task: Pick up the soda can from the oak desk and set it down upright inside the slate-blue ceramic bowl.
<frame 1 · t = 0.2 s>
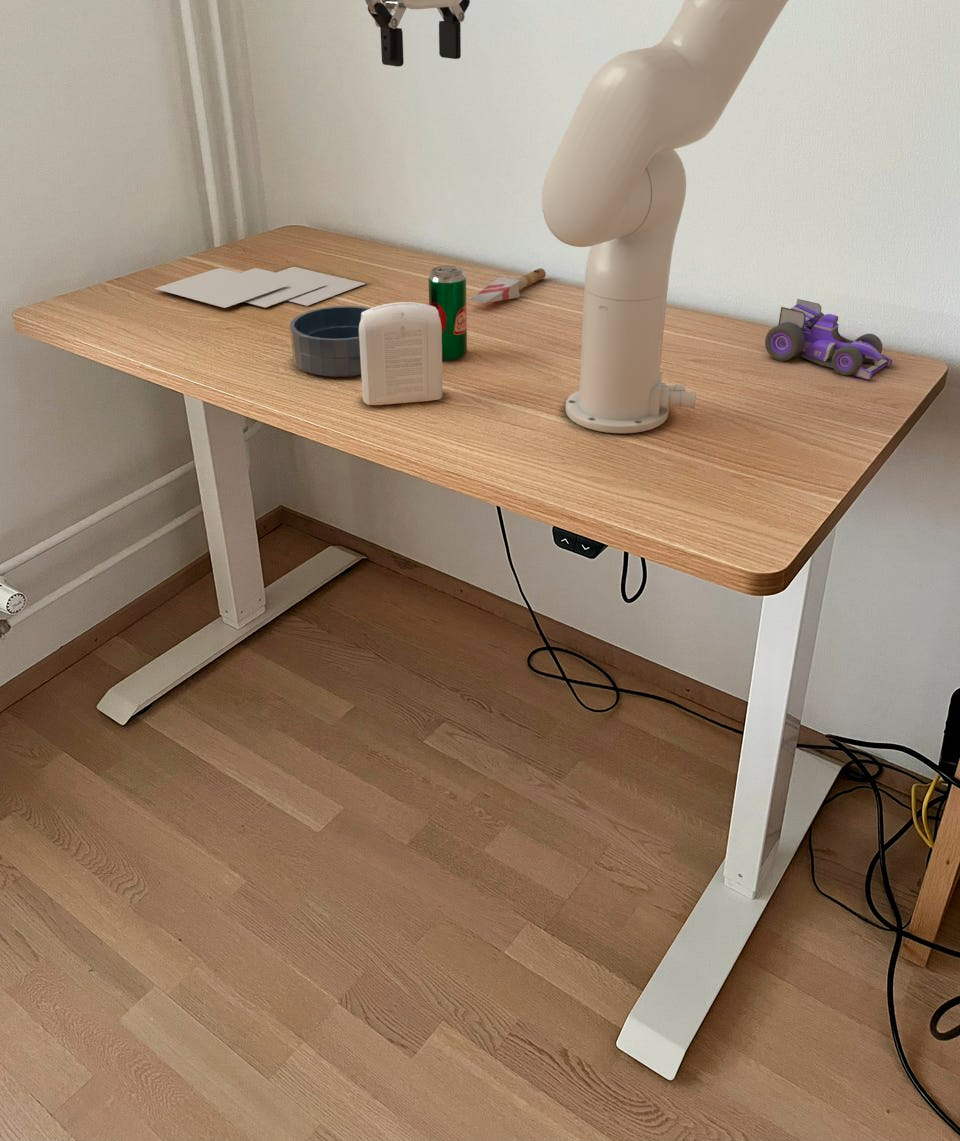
hand: (422, 61, 125), 37 cm above the table, tool pointing down, fingers open, 9 cm apart
photo printer: (403, 400, 130), on the table
toy race car: (828, 361, 140), on the table
bowl: (344, 360, 141), on the table
paper stack: (261, 289, 168), on the table
paintbrush: (510, 295, 165), on the table
soda can: (448, 357, 142), on the table
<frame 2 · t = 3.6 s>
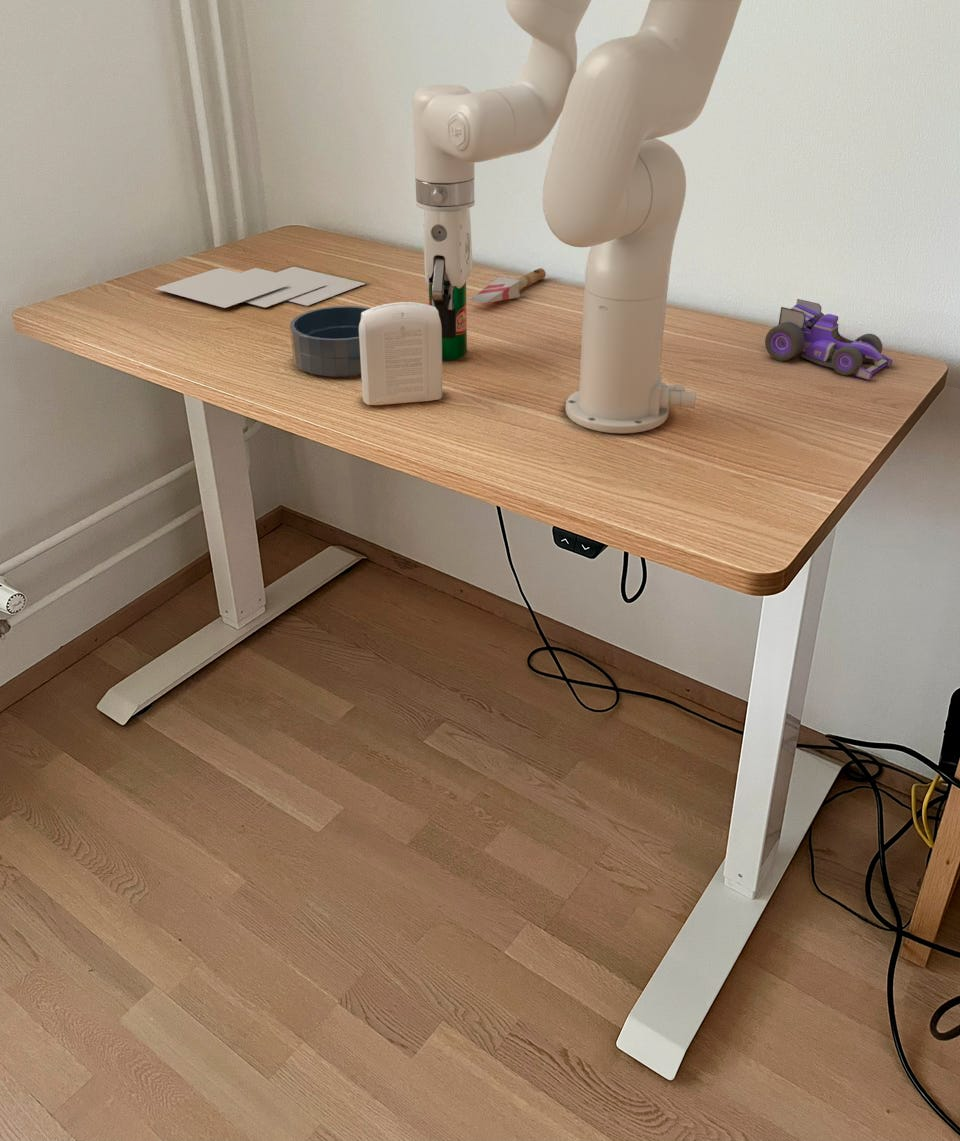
hand: (448, 328, 140), 4 cm above the table, tool pointing down, fingers closed on soda can, 5 cm apart
soda can: (448, 357, 142), on the table, touching gripper
everything else where it was.
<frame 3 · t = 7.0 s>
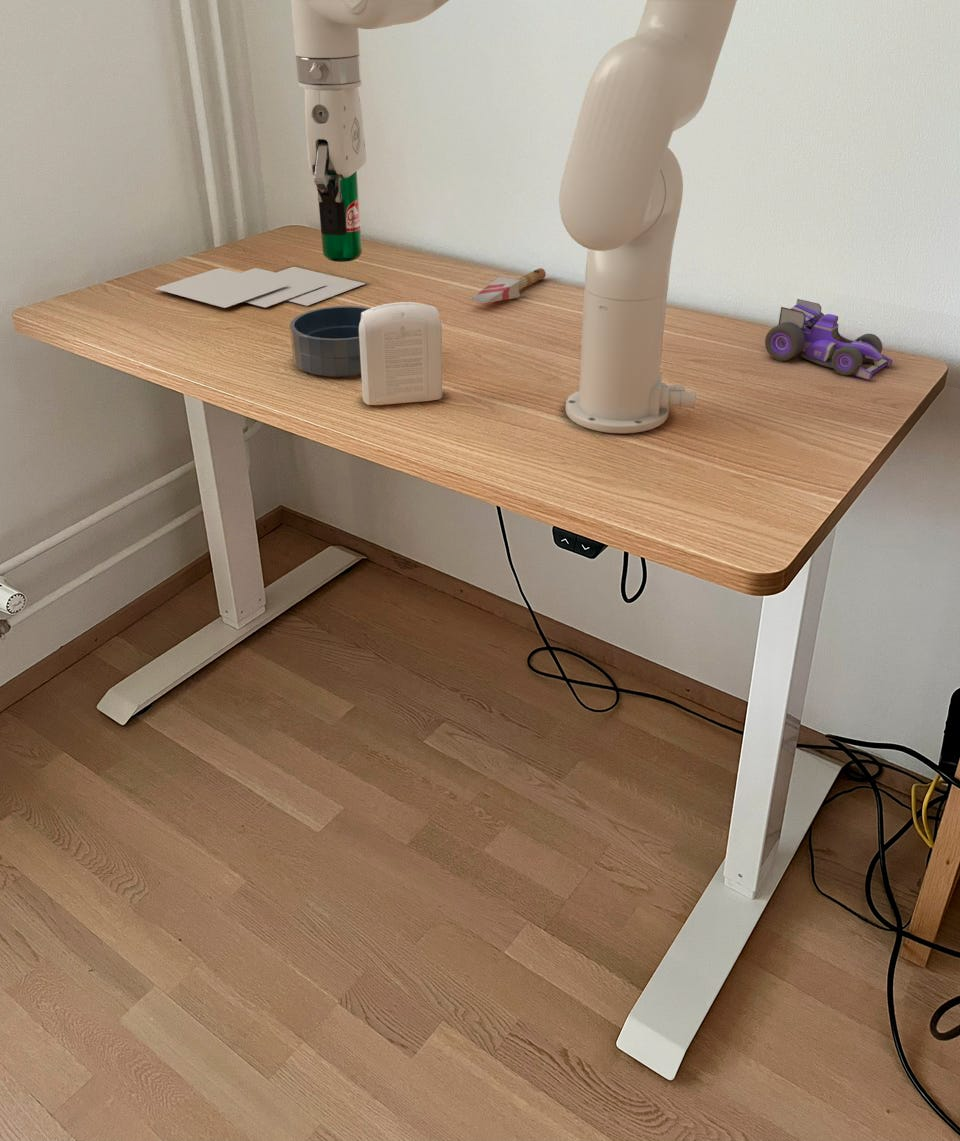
hand: (340, 226, 131), 18 cm above the table, tool pointing down, fingers closed on soda can, 5 cm apart
soda can: (342, 258, 133), point 14 cm above the table, touching gripper
everything else where it was.
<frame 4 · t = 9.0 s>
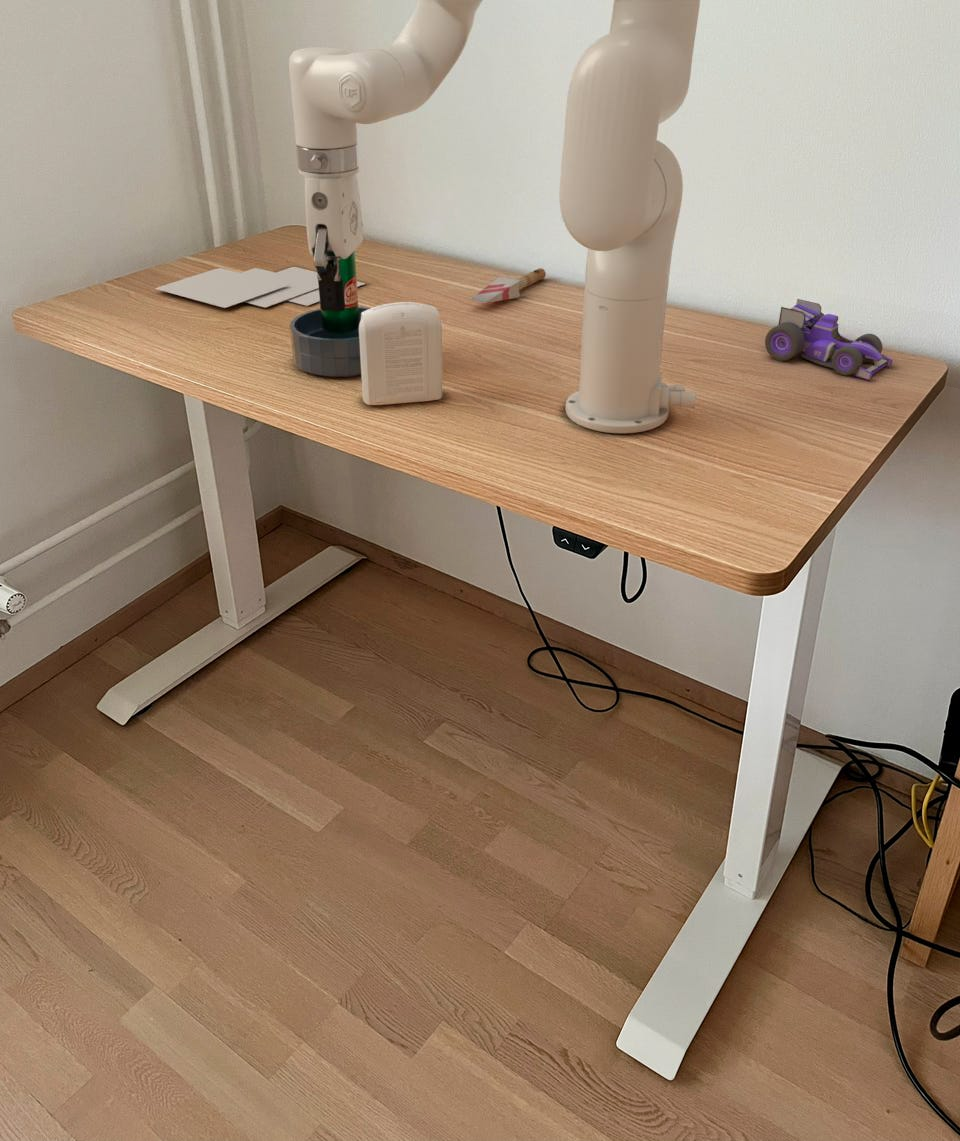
hand: (339, 301, 136), 8 cm above the table, tool pointing down, fingers closed on soda can, 5 cm apart
soda can: (341, 331, 139), point 4 cm above the table, touching gripper
everything else where it was.
when the fingers open (4 cm above the table, at t = 10.4 s): soda can stays where it is, resting on bowl.
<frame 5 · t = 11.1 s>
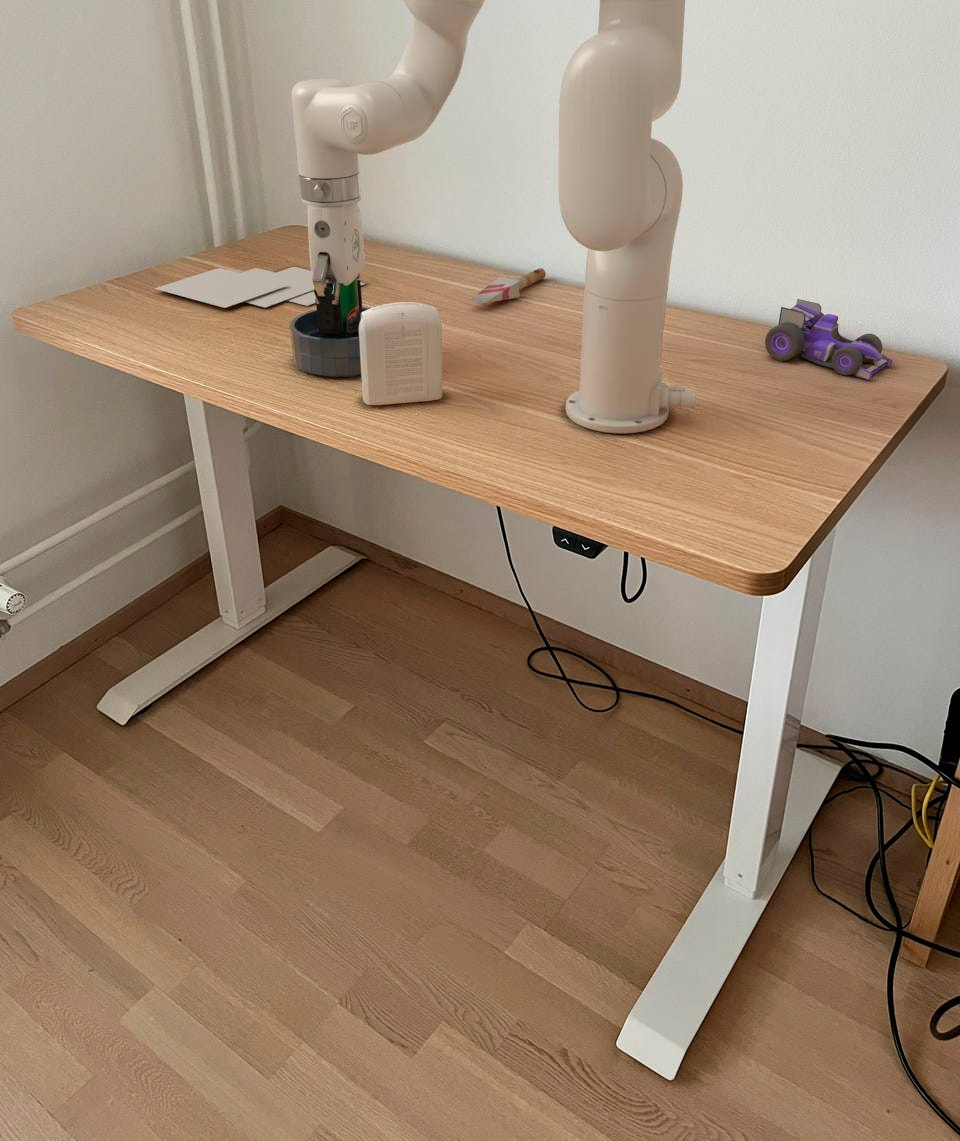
hand: (341, 320, 138), 6 cm above the table, tool pointing down, fingers open, 9 cm apart
soda can: (344, 358, 141), resting on bowl
everything else where it was.
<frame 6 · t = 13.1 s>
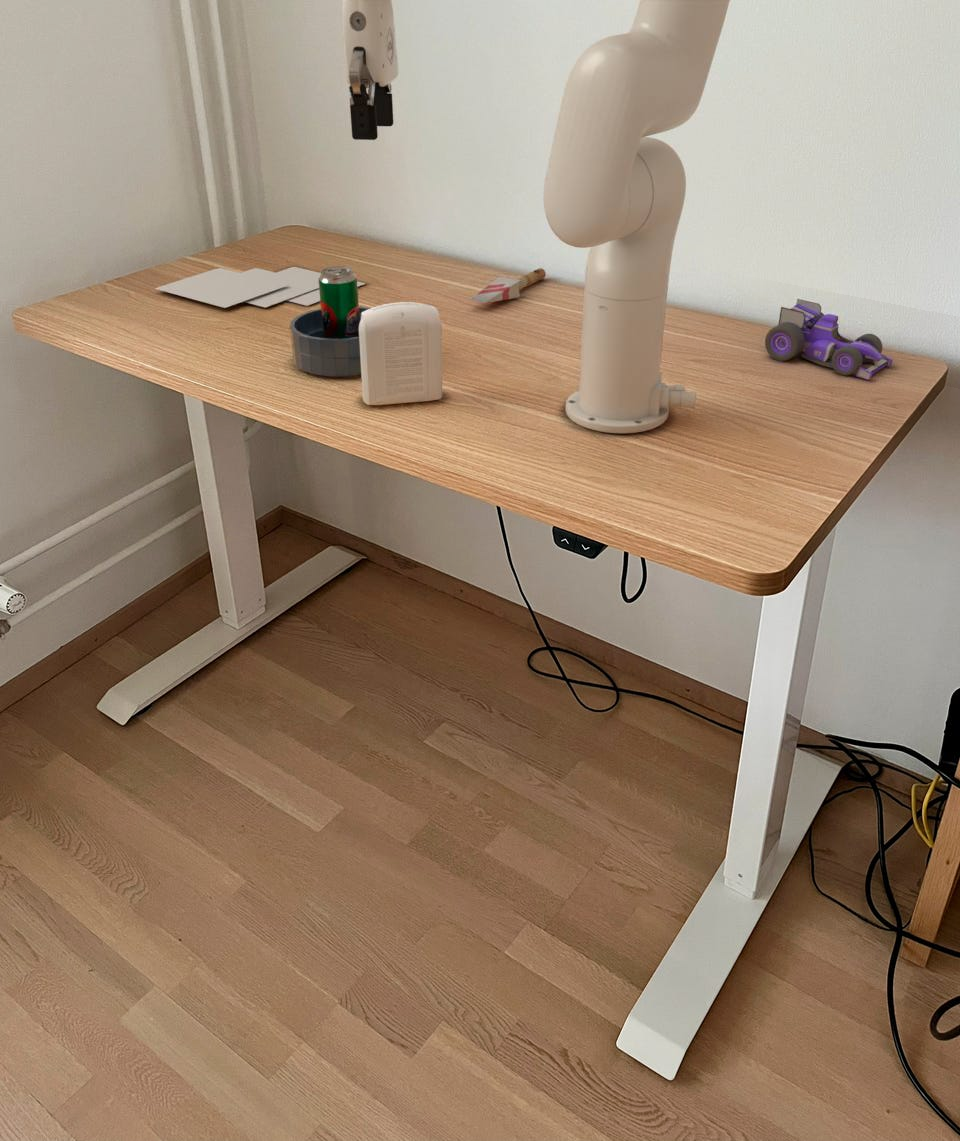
hand: (373, 132, 134), 28 cm above the table, tool pointing down, fingers open, 9 cm apart
nothing on the table moved.
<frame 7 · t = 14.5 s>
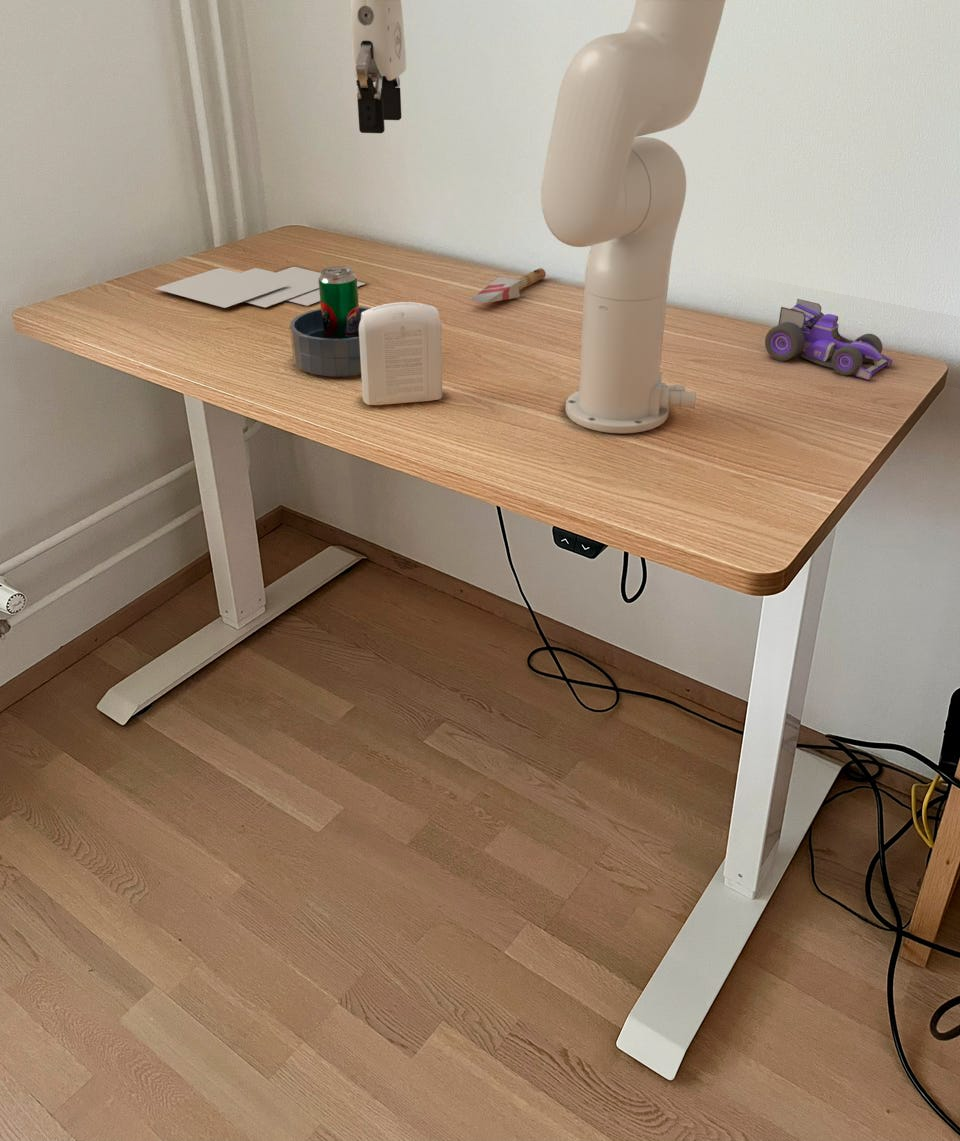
hand: (381, 125, 135), 28 cm above the table, tool pointing down, fingers open, 9 cm apart
nothing on the table moved.
at the end: soda can 0.0 cm off-centre in the bowl, point 0.3 cm above the bowl's base; soda can tilted 0°; the gripper is holding nothing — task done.
